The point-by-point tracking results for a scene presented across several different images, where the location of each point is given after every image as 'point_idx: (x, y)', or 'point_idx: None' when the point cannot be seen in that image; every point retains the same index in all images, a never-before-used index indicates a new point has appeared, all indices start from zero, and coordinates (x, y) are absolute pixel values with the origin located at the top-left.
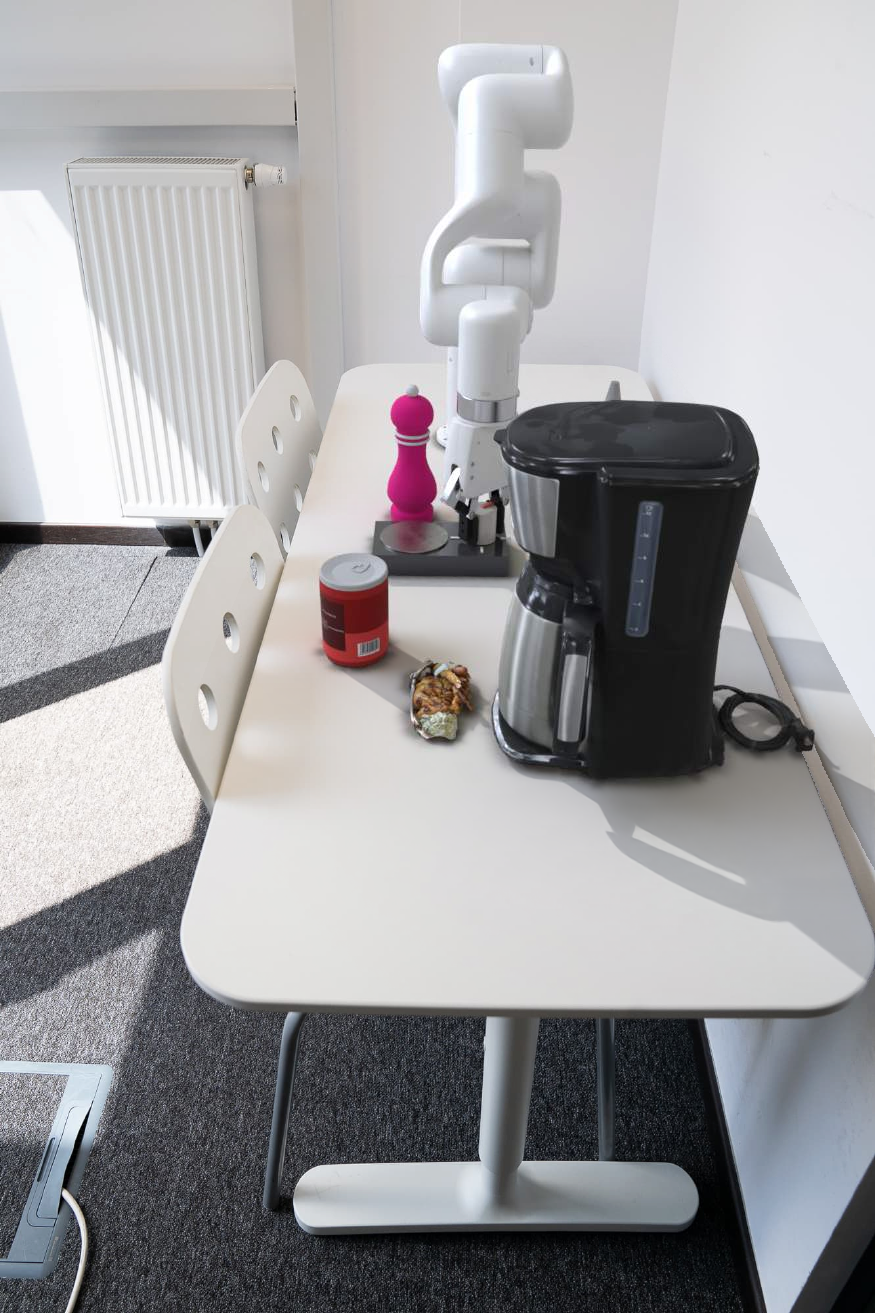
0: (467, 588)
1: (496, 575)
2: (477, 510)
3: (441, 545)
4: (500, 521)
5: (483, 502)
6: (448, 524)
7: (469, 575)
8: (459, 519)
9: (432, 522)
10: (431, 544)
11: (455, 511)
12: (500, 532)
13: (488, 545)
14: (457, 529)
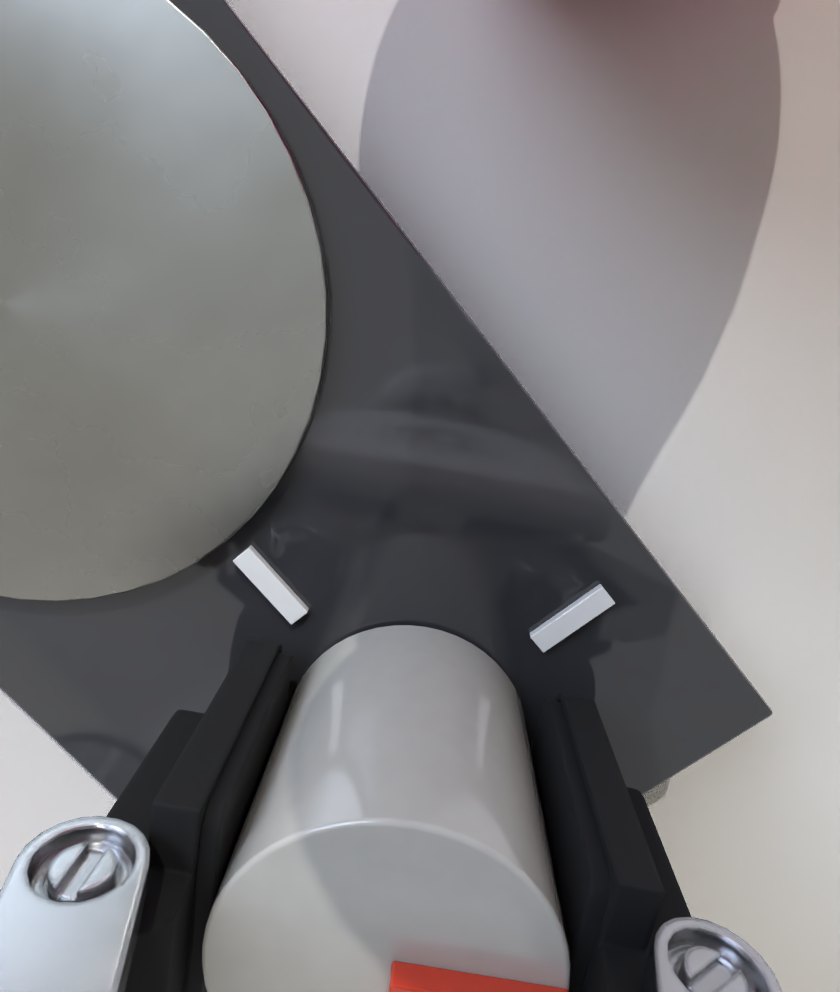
0: (83, 785)
1: None
2: (292, 973)
3: (60, 599)
4: None
5: (522, 919)
6: (434, 377)
7: None
8: (113, 811)
9: (369, 224)
10: (9, 527)
11: (52, 828)
12: None
13: None
14: (409, 500)
